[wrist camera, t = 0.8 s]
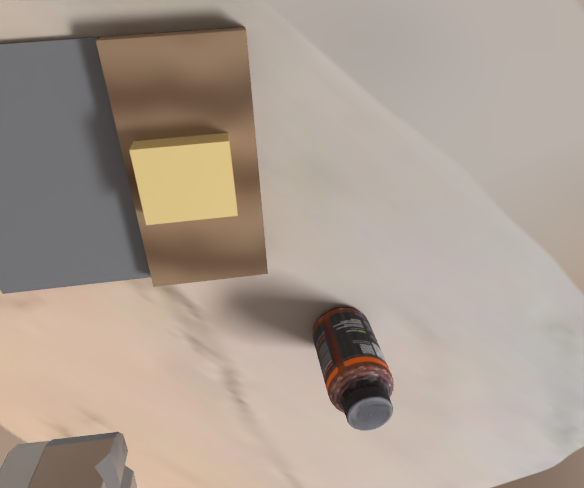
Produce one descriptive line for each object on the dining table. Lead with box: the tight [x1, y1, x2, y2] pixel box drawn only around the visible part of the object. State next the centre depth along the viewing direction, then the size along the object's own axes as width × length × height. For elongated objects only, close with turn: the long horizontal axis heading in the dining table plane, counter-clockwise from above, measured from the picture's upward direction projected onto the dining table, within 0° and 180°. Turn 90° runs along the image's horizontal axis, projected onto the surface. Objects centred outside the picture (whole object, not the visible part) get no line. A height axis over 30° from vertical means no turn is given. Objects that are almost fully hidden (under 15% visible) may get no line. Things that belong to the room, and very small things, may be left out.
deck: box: [96, 27, 268, 287], centre depth 39 cm, size 20×10×2 cm, turn 3°
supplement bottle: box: [313, 308, 393, 430], centre depth 46 cm, size 6×6×11 cm
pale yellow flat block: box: [129, 133, 238, 225], centre depth 37 cm, size 6×7×2 cm
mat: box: [0, 37, 151, 294], centre depth 39 cm, size 20×13×1 cm, turn 3°
